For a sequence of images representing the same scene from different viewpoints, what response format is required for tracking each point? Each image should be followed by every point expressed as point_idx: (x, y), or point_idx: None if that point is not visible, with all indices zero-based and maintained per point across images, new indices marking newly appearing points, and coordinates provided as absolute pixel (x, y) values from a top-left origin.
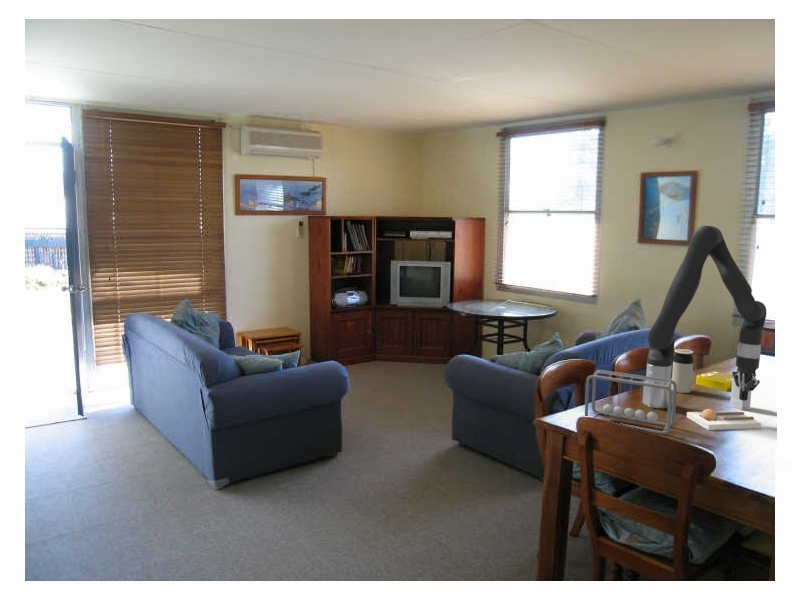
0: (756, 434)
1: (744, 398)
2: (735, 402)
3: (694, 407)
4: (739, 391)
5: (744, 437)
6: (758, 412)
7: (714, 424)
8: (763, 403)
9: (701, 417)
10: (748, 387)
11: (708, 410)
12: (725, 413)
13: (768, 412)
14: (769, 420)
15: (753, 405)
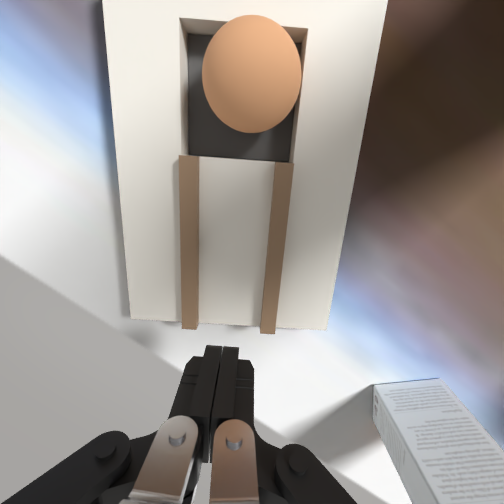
0: (56, 231)
1: (185, 367)
2: (426, 400)
3: (500, 194)
4: (451, 471)
5: (3, 135)
6: (329, 422)
7: (105, 11)
8: None
9: None
10: (33, 493)
11: (236, 41)
12: (269, 226)
13: (319, 452)
14: None
15: None
